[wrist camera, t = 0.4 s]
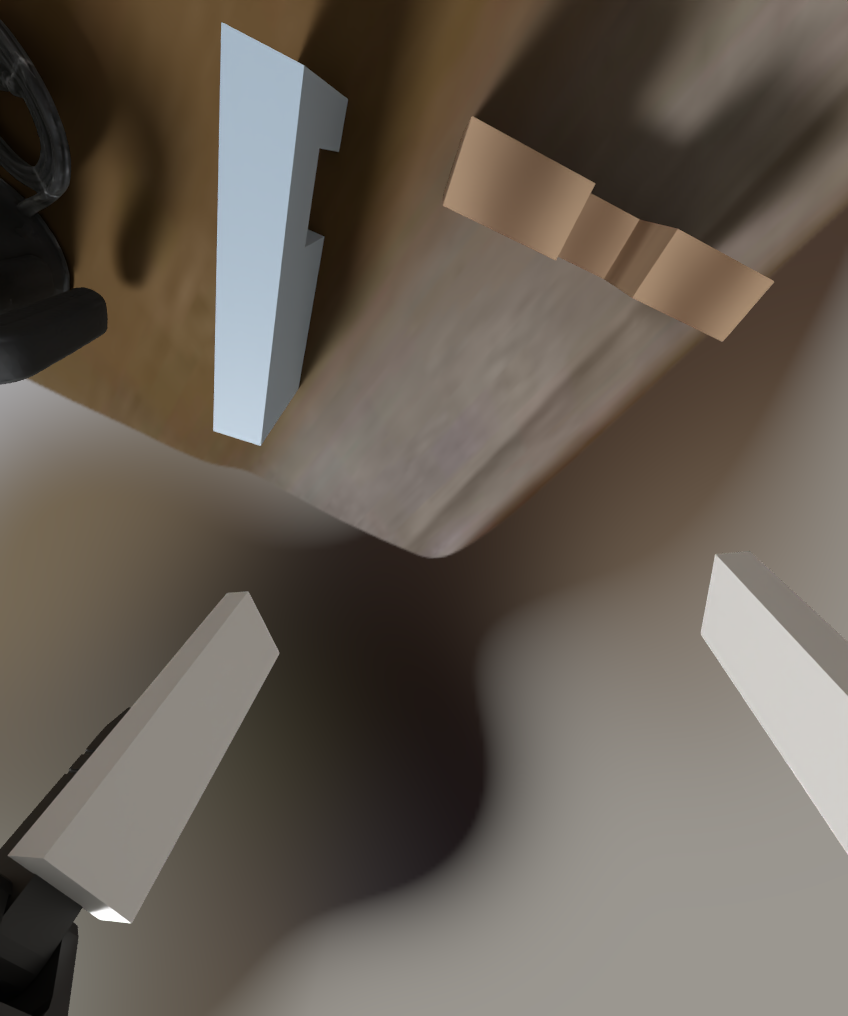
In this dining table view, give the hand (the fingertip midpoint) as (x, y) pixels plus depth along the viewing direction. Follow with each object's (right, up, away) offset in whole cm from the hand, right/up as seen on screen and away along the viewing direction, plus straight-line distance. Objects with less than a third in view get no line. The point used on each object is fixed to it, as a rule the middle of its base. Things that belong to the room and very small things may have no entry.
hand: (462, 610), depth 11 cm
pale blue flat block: (-10, +20, +15) cm, 27 cm away
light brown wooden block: (+8, +21, +13) cm, 26 cm away
